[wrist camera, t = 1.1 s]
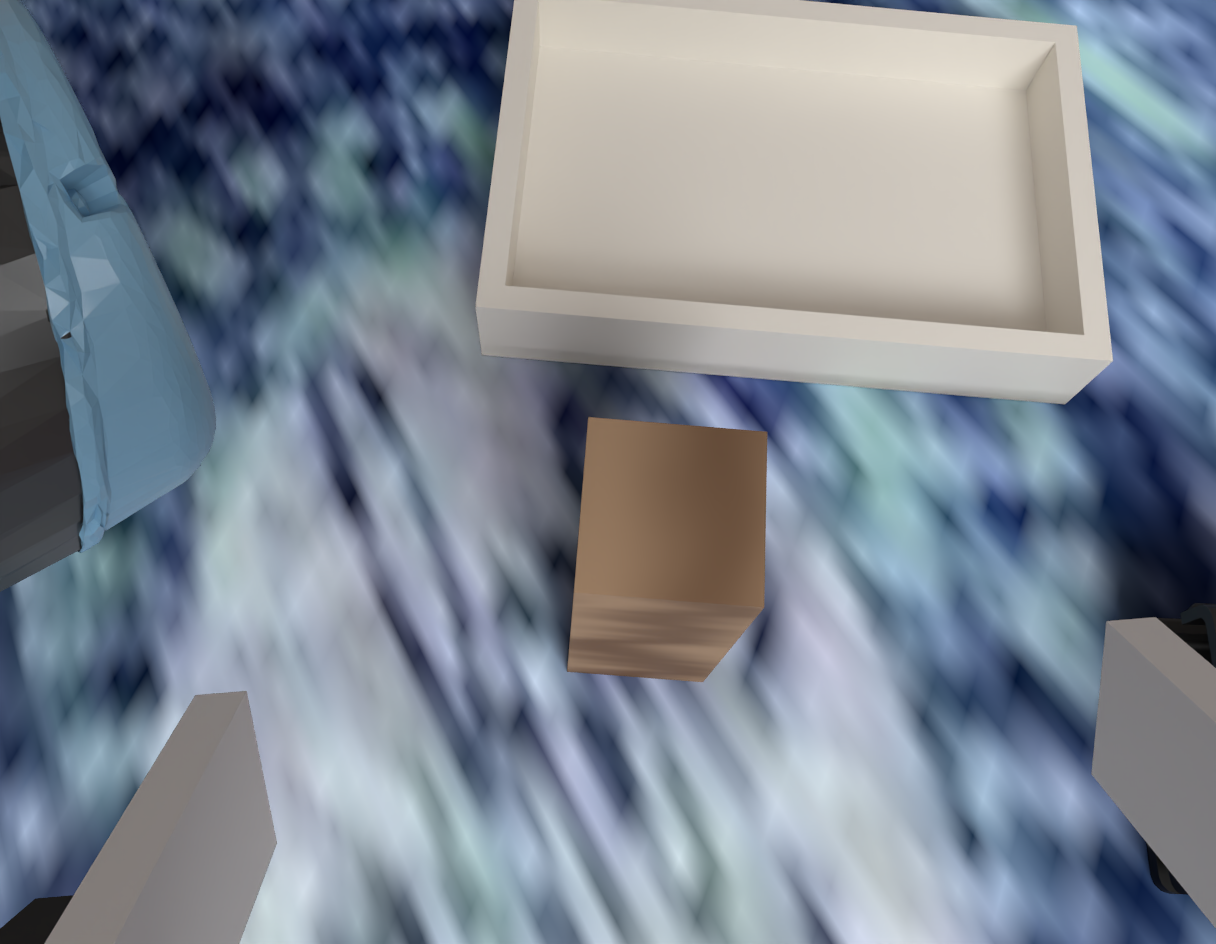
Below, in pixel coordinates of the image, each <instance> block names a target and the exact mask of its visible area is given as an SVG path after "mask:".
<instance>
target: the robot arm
mask: <svg viewBox="0 0 1216 944" xmlns="http://www.w3.org/2000/svg"><path fill="white" fill-rule="evenodd" d="M215 429H216V415H215V408H214V403H213V399H212V395H211V392H210V389H209V386H208V384H207V381H206V379H205V376H204V373H203V370H202V368H201V365H200V363H199V360H198V358H197V355H196V353H195V350H194V347H193V345H192V343H191V340H190V338H189V336H188V333H187V331H186V329H185V326H184V324H183V321H182V319H181V317H180V314H179V312H178V310H177V308H176V306H175V303H174V301H173V299H172V297H171V294H170V292H169V290H168V288H167V286H166V283H165V281H164V279H163V277H162V275H161V272H160V270H159V268H158V266H157V264H156V261H155V259H154V257H153V255H152V253H151V251H150V248H149V246H148V244H147V242H146V240H145V238H144V236H143V234H142V232H141V230H140V228H139V226H138V224H137V222H136V220H135V217H134V215H133V213H132V211H131V210H130V208H129V206H128V204H127V203H126V201H125V199H124V198H123V197H122V196H121V195H120V194H119V192H118V190H117V188H116V179H115V177H114V175H113V173H112V171H111V169H110V167H109V165H108V163H107V161H106V159H105V157H104V155H103V154H102V152H101V150H100V148H99V145H98V142H97V140H96V137H95V134H94V131H93V129H92V127H91V125H90V123H89V121H88V119H87V117H86V115H85V113H84V111H83V109H82V107H81V105H80V103H79V101H78V99H77V97H76V95H75V93H74V91H73V89H72V87H71V85H70V83H69V81H68V80H67V78H66V76H65V74H64V72H63V70H62V68H61V66H60V64H59V62H58V61H57V59H56V57H55V55H54V53H53V51H52V50H51V48H50V46H49V44H48V42H47V40H46V39H45V37H44V35H43V33H42V32H41V30H40V28H39V27H38V25H37V23H36V22H35V20H34V19H33V17H32V16H31V15H30V13H29V12H28V10H27V9H26V7H25V6H24V5H23V4H22V3H21V2H19V1H18V0H0V592H1V591H2V590H4V589H6V588H8V587H10V586H12V585H14V584H16V583H18V582H20V581H21V580H23V579H25V578H27V577H29V576H31V575H33V574H35V573H37V572H39V571H40V570H42V569H44V568H46V567H48V566H50V565H52V564H54V563H56V562H58V561H59V560H61V559H63V558H65V557H67V556H69V555H71V554H73V553H75V552H77V551H78V552H80V553H82V552H84V551H86V550H88V549H90V548H91V547H92V546H94V545H96V544H98V543H99V541H100V540H101V539H102V537H103V534H104V531H106V530H108V529H109V528H111V527H112V526H114V525H116V524H117V523H119V522H121V521H122V520H124V519H125V518H127V517H129V516H130V515H132V514H133V513H135V512H137V511H138V510H140V509H142V508H143V507H145V506H146V505H148V504H150V503H151V502H153V501H154V500H156V499H158V498H159V497H161V496H163V495H164V494H166V493H167V492H169V491H171V490H172V489H174V488H175V487H177V486H179V485H180V484H182V483H184V482H185V481H186V480H187V479H189V478H190V477H191V475H192V474H193V473H194V472H195V471H196V470H197V469H198V468H199V467H200V466H201V462H202V460H203V459H204V458H205V456H206V455H207V454H208V452H209V451H210V448H211V446H212V443H213V440H214V434H215ZM1092 775H1093V776H1094V778H1095V779H1096V780H1097V781H1098V783H1099V784H1100V785H1101V786H1102V788H1103V789H1104V790H1105V791H1106V793H1107V794H1108V795H1109V796H1110V798H1111V799H1112V800H1113V801H1114V803H1115V804H1116V805H1117V806H1118V808H1119V809H1120V810H1121V811H1122V813H1123V814H1124V815H1125V816H1126V817H1127V819H1128V820H1129V821H1130V822H1131V824H1132V825H1133V826H1134V827H1135V829H1136V830H1137V831H1138V832H1139V834H1140V835H1141V836H1142V837H1143V839H1144V840H1145V841H1146V842H1147V844H1148V845H1149V846H1150V847H1151V849H1152V850H1153V851H1154V852H1155V854H1156V855H1157V856H1158V857H1159V858H1160V860H1161V861H1162V862H1163V863H1164V865H1165V866H1166V867H1167V868H1168V870H1169V871H1170V872H1171V873H1172V875H1173V876H1174V877H1175V878H1176V880H1177V881H1178V882H1179V883H1180V885H1181V886H1182V887H1183V888H1184V890H1185V891H1186V892H1187V893H1188V895H1189V896H1190V897H1191V898H1192V899H1193V901H1194V902H1195V903H1196V904H1197V906H1198V907H1199V908H1200V909H1201V911H1202V912H1203V913H1204V914H1205V916H1206V917H1207V918H1208V919H1209V921H1210V922H1211V923H1212V924H1213V926H1214V927H1215V928H1216V668H1215V667H1214V666H1213V665H1211V664H1210V663H1209V662H1208V661H1207V660H1205V659H1204V658H1203V657H1202V656H1201V655H1200V654H1198V653H1197V652H1196V651H1195V650H1194V649H1193V648H1191V647H1190V646H1189V645H1188V644H1187V643H1185V642H1184V641H1183V640H1182V639H1181V638H1180V637H1178V636H1177V635H1176V634H1175V633H1174V632H1173V631H1171V630H1170V629H1169V628H1168V627H1167V626H1165V625H1164V624H1163V623H1162V622H1161V621H1160V620H1158V619H1157V618H1156V617H1151V618H1139V619H1127V620H1114V621H1106V631H1105V642H1104V652H1103V662H1102V672H1101V682H1100V693H1099V703H1098V713H1097V723H1096V733H1095V744H1094V754H1093V764H1092ZM276 844H277V841H276V836H275V831H274V826H273V821H272V816H271V811H270V806H269V801H268V796H267V791H266V786H265V781H264V776H263V771H262V766H261V761H260V756H259V751H258V746H257V741H256V736H255V731H254V726H253V721H252V716H251V711H250V706H249V701H248V696H247V691H241V692H228V693H216V694H204V695H195V697H194V698H193V700H192V701H191V703H190V705H189V706H188V708H187V710H186V711H185V713H184V715H183V716H182V718H181V720H180V721H179V723H178V725H177V726H176V728H175V729H174V731H173V733H172V734H171V736H170V738H169V739H168V741H167V743H166V744H165V746H164V748H163V749H162V751H161V753H160V754H159V756H158V757H157V759H156V761H155V762H154V764H153V766H152V767H151V769H150V771H149V772H148V774H147V776H146V777H145V779H144V781H143V782H142V784H141V785H140V787H139V789H138V790H137V792H136V794H135V795H134V797H133V799H132V800H131V802H130V804H129V805H128V807H127V808H126V810H125V812H124V813H123V815H122V817H121V818H120V820H119V822H118V823H117V825H116V827H115V828H114V830H113V832H112V833H111V835H110V836H109V838H108V840H107V841H106V843H105V845H104V846H103V848H102V850H101V851H100V853H99V855H98V856H97V858H96V860H95V861H94V863H93V864H92V866H91V868H90V869H89V871H88V873H87V874H86V876H85V878H84V879H83V881H82V883H81V884H80V886H79V888H78V889H77V891H76V892H75V894H74V895H73V896H61V897H49V898H38V899H35V900H33V901H32V902H31V903H30V904H29V905H27V906H26V907H25V908H24V909H23V910H22V911H20V912H19V913H18V914H17V915H16V916H15V917H13V918H12V919H11V920H10V921H9V922H8V923H6V924H5V925H4V926H3V927H2V928H1V929H0V944H239V943H240V940H241V938H242V935H243V932H244V930H245V927H246V924H247V922H248V919H249V916H250V914H251V911H252V908H253V906H254V903H255V900H256V898H257V895H258V892H259V890H260V887H261V884H262V882H263V879H264V876H265V874H266V871H267V868H268V866H269V863H270V860H271V858H272V855H273V852H274V850H275V847H276Z"/></svg>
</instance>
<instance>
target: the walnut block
mask: <svg viewBox="0 0 1216 944" xmlns="http://www.w3.org/2000/svg"><path fill="white" fill-rule="evenodd" d="M766 472H767V432H762V431H750V430H738V429H726V428H714V427H702V426H690V425H678V424H666V423H654V422H642V421H630V420H618V419H606V418H594V417H588V427H587V439H586V451H585V463H584V475H583V486H582V498H581V510H580V522H579V534H578V546H577V558H576V570H575V582H574V595H573V607H572V619H571V631H570V644H569V656H568V668H567V672H579V673H592V674H605V675H618V676H631V677H644V678H657V679H669V680H682V681H695V682H703V681H704V680H705V679H706V678H707V676H708V675H709V674H710V673H711V672H712V670H713V669H714V668H715V667H716V666H717V664H718V663H719V662H720V661H721V659H722V658H723V657H724V656H725V655H726V653H727V652H728V651H729V650H730V648H731V647H732V646H733V645H734V644H735V642H736V641H737V640H738V639H739V638H740V636H741V635H742V634H743V633H744V631H745V630H746V629H747V628H748V627H749V625H750V624H751V623H752V622H753V620H754V619H755V618H756V617H757V616H758V614H759V613H760V612H761V611H762V609H763V608H764V585H765V528H766Z"/></svg>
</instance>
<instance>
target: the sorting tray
mask: <svg viewBox="0 0 1216 944" xmlns="http://www.w3.org/2000/svg"><path fill="white" fill-rule="evenodd" d="M475 308H476V315H477V322H478V330H479V337H480V345H481V352H482V355H486V356H498V357H510V358H522V359H534V360H546V361H557V362H569V363H581V364H593V365H605V366H617V367H629V368H640V369H652V370H664V371H676V372H688V373H700V374H712V375H724V376H735V377H747V378H759V379H771V380H783V381H795V382H807V383H818V384H830V385H842V386H854V387H866V388H878V389H890V390H901V391H913V392H925V393H937V394H949V395H961V396H973V397H985V398H996V399H1008V400H1020V401H1032V402H1044V403H1056V404H1066V403H1067V402H1068V401H1069V400H1070V399H1071V398H1072V397H1074V396H1075V395H1076V394H1077V393H1078V392H1079V391H1080V390H1081V389H1082V388H1084V387H1085V386H1086V385H1087V384H1088V383H1089V382H1090V381H1091V380H1092V379H1094V378H1095V377H1096V376H1097V375H1098V374H1099V373H1100V372H1101V371H1102V370H1103V369H1105V368H1106V367H1107V366H1108V365H1109V364H1110V363H1111V362H1112V361H1113V358H1112V349H1111V339H1110V330H1109V321H1108V312H1107V302H1106V293H1105V284H1104V275H1103V265H1102V256H1101V247H1100V237H1099V228H1098V219H1097V210H1096V200H1095V191H1094V182H1093V173H1092V163H1091V154H1090V145H1089V136H1088V126H1087V117H1086V108H1085V99H1084V89H1083V80H1082V71H1081V62H1080V52H1079V43H1078V34H1077V26H1072V25H1062V24H1051V23H1040V22H1029V21H1018V20H1008V19H997V18H986V17H975V16H964V15H954V14H943V13H932V12H921V11H911V10H900V9H889V8H878V7H867V6H857V5H846V4H835V3H824V2H813V1H803V0H514V7H513V15H512V22H511V30H510V38H509V46H508V54H507V62H506V70H505V78H504V85H503V93H502V101H501V109H500V117H499V125H498V133H497V141H496V148H495V156H494V164H493V172H492V180H491V188H490V196H489V203H488V211H487V219H486V227H485V235H484V243H483V251H482V259H481V266H480V274H479V282H478V290H477V298H476V306H475Z"/></svg>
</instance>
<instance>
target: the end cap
mask: <svg viewBox="0 0 1216 944" xmlns="http://www.w3.org/2000/svg"><path fill="white" fill-rule="evenodd" d="M1180 614H1181V619H1173V618H1158V620H1160V621H1161V622H1162V623H1163V624H1164V625H1165V626H1167V627H1168V628H1169V629H1170V630H1171V631H1173V632H1174V633H1175V634H1176V635H1177V636H1178V637H1180V638H1181V639H1182V640H1183V641H1184V642H1185V643H1187V644H1188V645H1189V646H1190V647H1191V648H1193V649H1194V650H1195V651H1196V652H1197V653H1198V654H1200V655H1201V656H1202V657H1203V658H1204V659H1205V660H1207V661H1208V662H1209V663H1210V664H1211V665H1213V666H1214V667H1215V668H1216V604H1207V603H1194V604H1193V605H1191V606H1190V607H1189V609H1188V610H1186V611H1184V612H1181V613H1180ZM1147 849H1148V856H1149V864H1150V871H1151V877H1152V879H1153V882H1154V884H1155V885H1156V886H1157V887H1158V888H1159V889H1160V890H1161V891H1163V892H1166V893H1170V894H1188V893H1187V892H1186V891H1185V890H1184V888H1183V887H1182V886H1181V885H1180V883H1179V882H1178V881H1177V880H1176V878H1175V877H1174V876H1173V875H1172V873H1171V872H1170V871H1169V870H1168V868H1167V867H1166V866H1165V865H1164V863H1163V862H1162V861H1161V860H1160V858H1159V857H1158V856H1157V855H1156V854H1155V852H1154V851H1153V850H1152V849H1151V847H1150V846H1149V845H1148V844H1147Z"/></svg>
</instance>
